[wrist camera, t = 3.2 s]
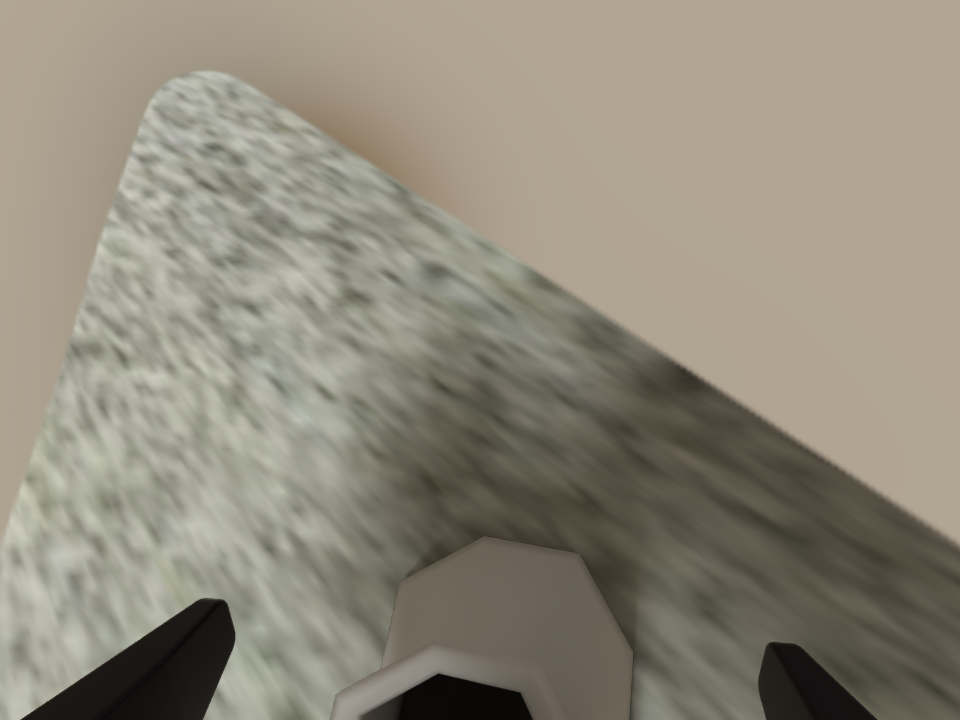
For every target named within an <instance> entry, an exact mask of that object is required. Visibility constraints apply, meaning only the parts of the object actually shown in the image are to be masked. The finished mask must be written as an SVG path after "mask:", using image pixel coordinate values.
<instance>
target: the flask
mask: <svg viewBox="0 0 960 720" xmlns="http://www.w3.org/2000/svg"><path fill="white" fill-rule="evenodd" d="M632 668H633V651H632V649H631V647H630V646H629V644H628V642H627V640H626V638H625V636H624V635H623V633H622V631H621V629H620V627H619V625H618V624H617V622H616V620H615V618H614V616H613V614H612V613H611V611H610V609H609V607H608V605H607V603H606V602H605V600H604V598H603V596H602V594H601V593H600V591H599V589H598V587H597V585H596V583H595V582H594V580H593V578H592V576H591V574H590V572H589V571H588V569H587V567H586V565H585V563H584V561H583V560H582V558H581V556H580V554H579V553H574V552H569V551H563V550H558V549H552V548H547V547H542V546H536V545H531V544H525V543H520V542H514V541H509V540H504V539H498V538H493V537H487V536H484V537H482V538H480V539H478V540H476V541H474V542H472V543H471V544H469V545H467V546H465V547H463V548H461V549H459V550H458V551H456V552H454V553H452V554H450V555H448V556H446V557H444V558H443V559H441V560H439V561H437V562H435V563H433V564H431V565H430V566H428V567H426V568H424V569H422V570H420V571H418V572H417V573H415V574H413V575H411V576H409V577H407V578H405V579H403V580H402V581H400V583H399V587H398V592H397V596H396V601H395V605H394V610H393V614H392V619H391V623H390V628H389V632H388V637H387V641H386V646H385V650H384V655H383V659H382V664H381V668H380V670H378V671H376V672H374V673H373V674H371V675H369V676H367V677H365V678H364V679H362V680H360V681H358V682H356V683H355V684H353V685H351V686H349V687H347V688H345V689H344V690H342V691H340V692H339V693H338V694H336V695H335V699H334V703H333V707H332V712H331V716H330V720H629V718H630V701H631V684H632Z"/></svg>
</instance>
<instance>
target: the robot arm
mask: <svg viewBox="0 0 960 720" xmlns="http://www.w3.org/2000/svg"><path fill="white" fill-rule="evenodd" d="M234 644H235V629H234V625H233V622H232V618H231V614H230V611H229V607H228V604H227V602H226V601H225V600H222V599H213V598H203V599H200V600H198V601H196V602H195V603H193V604H192V605H190V606H189V607H187V608H186V609H184V610H183V611H181V612H180V613H178V614H177V615H175V616H174V617H172V618H171V619H169V620H168V621H166V622H165V623H163V624H162V625H160V626H159V627H157V628H156V629H154V630H153V631H151V632H150V633H148V634H147V635H146V636H144V637H143V638H141V639H140V640H138V641H137V642H135V643H134V644H132V645H131V646H129V647H128V648H126V649H125V650H123V651H122V652H120V653H119V654H117V655H116V656H114V657H113V658H111V659H110V660H108V661H107V662H105V663H104V664H102V665H101V666H99V667H98V668H96V669H95V670H94V671H92V672H91V673H89V674H88V675H86V676H85V677H83V678H82V679H80V680H79V681H77V682H76V683H74V684H73V685H71V686H70V687H68V688H67V689H65V690H64V691H62V692H61V693H59V694H58V695H56V696H55V697H53V698H52V699H50V700H49V701H47V702H46V703H45V704H43V705H42V706H40V707H39V708H37V709H36V710H34V711H33V712H31V713H30V714H28V715H27V716H25V717H24V718H22V719H21V720H203V718H204V716H205V714H206V711H207V709H208V707H209V704H210V702H211V699H212V697H213V695H214V692H215V690H216V688H217V685H218V683H219V681H220V678H221V676H222V674H223V671H224V669H225V666H226V664H227V662H228V659H229V657H230V655H231V652H232V650H233V647H234ZM758 686H759V694H760V698H761V702H762V705H763V709H764V713H765V717H766V720H877V719H876V718H875V717H874V716H873V715H872V714H871V713H870V712H869V711H868V710H867V709H866V708H865V707H864V706H862V705H861V704H860V703H859V702H858V701H857V700H856V699H855V698H854V697H853V696H852V695H851V694H850V693H849V692H848V691H847V690H846V689H845V688H844V687H842V686H841V685H840V684H839V683H838V682H837V681H836V680H835V679H834V678H833V677H832V676H831V675H830V674H829V673H828V672H827V671H826V670H825V669H824V668H822V667H821V666H820V665H819V664H818V663H817V662H816V661H815V660H814V659H813V658H812V657H811V656H810V655H809V654H808V653H807V652H806V651H805V650H803V649H802V648H801V647H800V646H798V645H796V644H792V643H781V642H770V643H769V644H768V645H767V646H766V649H765V653H764V657H763V661H762V665H761V670H760V674H759V679H758Z"/></svg>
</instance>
